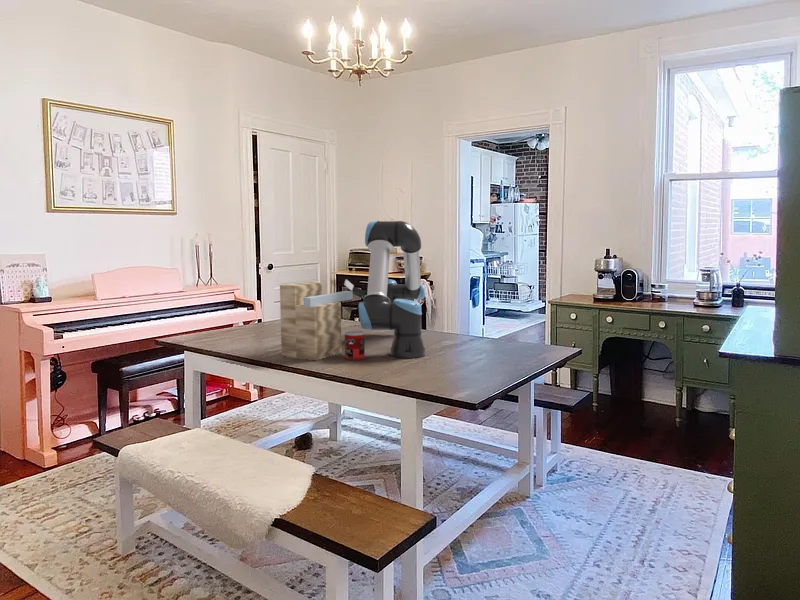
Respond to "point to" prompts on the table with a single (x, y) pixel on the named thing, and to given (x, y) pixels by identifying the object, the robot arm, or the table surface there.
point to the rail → (327, 298)
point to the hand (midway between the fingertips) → (357, 282)
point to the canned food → (354, 345)
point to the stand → (308, 323)
